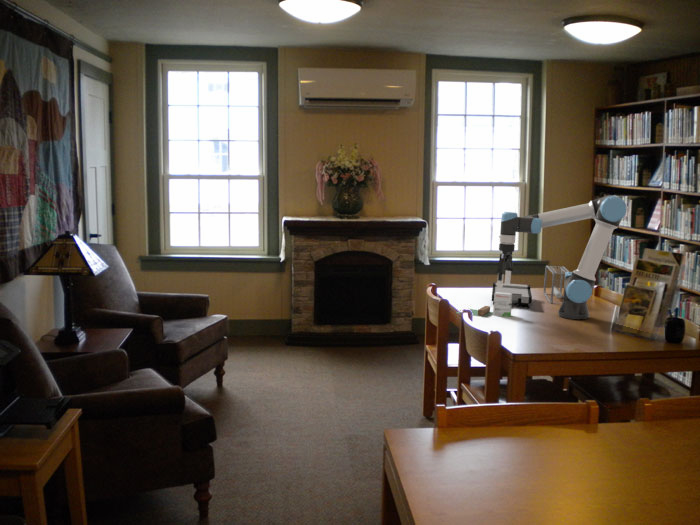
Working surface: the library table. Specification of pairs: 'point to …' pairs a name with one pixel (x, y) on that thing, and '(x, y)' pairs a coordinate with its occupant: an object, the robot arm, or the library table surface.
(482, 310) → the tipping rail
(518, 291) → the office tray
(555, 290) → the newton's cradle
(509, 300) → the ink box
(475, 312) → the felt mat
